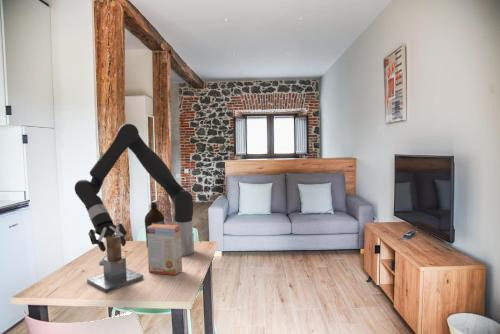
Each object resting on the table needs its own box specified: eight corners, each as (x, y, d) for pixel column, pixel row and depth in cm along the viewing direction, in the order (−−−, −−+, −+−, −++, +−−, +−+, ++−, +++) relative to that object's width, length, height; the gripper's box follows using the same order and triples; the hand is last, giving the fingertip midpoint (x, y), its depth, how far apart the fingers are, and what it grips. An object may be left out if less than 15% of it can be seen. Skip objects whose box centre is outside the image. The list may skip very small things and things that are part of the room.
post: (117, 273, 133) (115, 235, 132) (122, 276, 130) (120, 236, 129) (107, 277, 129) (105, 237, 128) (113, 279, 127) (111, 239, 126)
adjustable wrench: (104, 266, 148) (104, 262, 148) (90, 266, 148) (90, 263, 148) (121, 248, 173) (121, 245, 173) (110, 249, 173) (110, 246, 172)
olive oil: (142, 245, 176) (140, 202, 174) (160, 241, 183) (158, 200, 181) (150, 250, 168) (148, 204, 166) (168, 245, 175) (166, 202, 174)
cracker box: (182, 270, 139) (181, 224, 138) (175, 276, 133) (173, 228, 132) (156, 267, 144) (154, 223, 142) (148, 272, 138) (146, 226, 137)
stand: (123, 269, 141) (122, 249, 141) (143, 278, 131) (142, 256, 131) (87, 282, 129) (85, 260, 128) (106, 293, 119) (104, 268, 118)
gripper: (85, 214, 128) (100, 247, 121) (118, 209, 139) (133, 238, 132) (80, 225, 131) (94, 257, 125) (113, 219, 142) (127, 248, 136)
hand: (114, 247), depth 129 cm, fingers open, 8 cm apart
